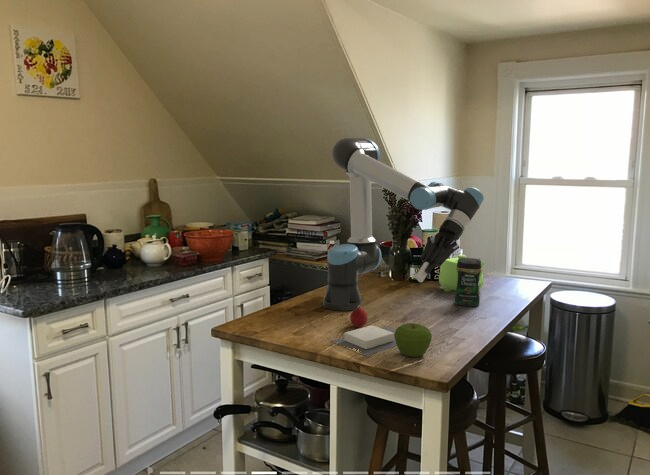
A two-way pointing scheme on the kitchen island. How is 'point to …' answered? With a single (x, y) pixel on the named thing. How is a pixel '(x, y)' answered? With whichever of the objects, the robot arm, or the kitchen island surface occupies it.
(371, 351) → the mat
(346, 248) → the robot arm
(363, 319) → the red pomegranate
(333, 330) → the kitchen island surface
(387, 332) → the tile
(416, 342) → the apple
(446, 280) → the teapot
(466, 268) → the coffee jar
